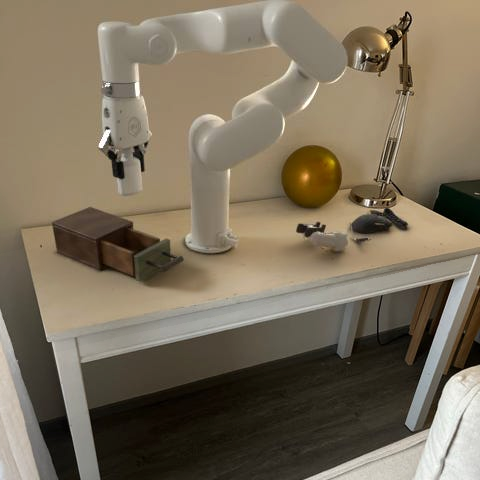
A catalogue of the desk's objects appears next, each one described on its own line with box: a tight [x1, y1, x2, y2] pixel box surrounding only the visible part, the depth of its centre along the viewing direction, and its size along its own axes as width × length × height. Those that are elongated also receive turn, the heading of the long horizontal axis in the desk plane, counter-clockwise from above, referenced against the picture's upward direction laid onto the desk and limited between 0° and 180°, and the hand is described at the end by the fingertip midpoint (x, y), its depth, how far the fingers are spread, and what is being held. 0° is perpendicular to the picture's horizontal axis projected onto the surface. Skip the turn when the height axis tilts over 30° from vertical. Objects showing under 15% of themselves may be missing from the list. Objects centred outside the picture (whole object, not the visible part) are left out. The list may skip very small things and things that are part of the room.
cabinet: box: [51, 206, 134, 271], centre depth 123 cm, size 15×12×8 cm
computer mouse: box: [349, 207, 409, 234], centre depth 147 cm, size 12×18×4 cm
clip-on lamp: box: [295, 221, 371, 252], centre depth 133 cm, size 12×6×18 cm
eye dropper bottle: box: [116, 147, 143, 197], centre depth 116 cm, size 4×6×12 cm
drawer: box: [99, 227, 185, 283], centre depth 117 cm, size 19×11×6 cm, turn 57°
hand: (129, 173), depth 117 cm, fingers closed on eye dropper bottle, 5 cm apart
